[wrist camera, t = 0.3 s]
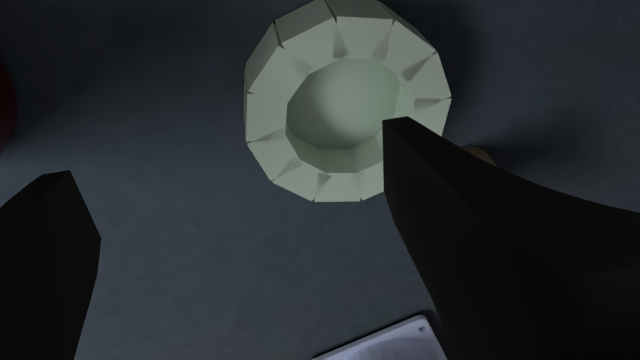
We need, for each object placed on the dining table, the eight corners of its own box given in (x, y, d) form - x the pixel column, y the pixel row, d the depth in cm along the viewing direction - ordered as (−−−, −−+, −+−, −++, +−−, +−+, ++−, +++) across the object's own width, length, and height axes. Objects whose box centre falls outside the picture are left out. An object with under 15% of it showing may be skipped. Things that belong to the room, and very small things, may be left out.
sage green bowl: (448, 124, 24) (469, 152, 22) (294, 195, 25) (301, 228, 23) (393, -40, 19) (413, -24, 17) (207, 54, 20) (205, 81, 18)
